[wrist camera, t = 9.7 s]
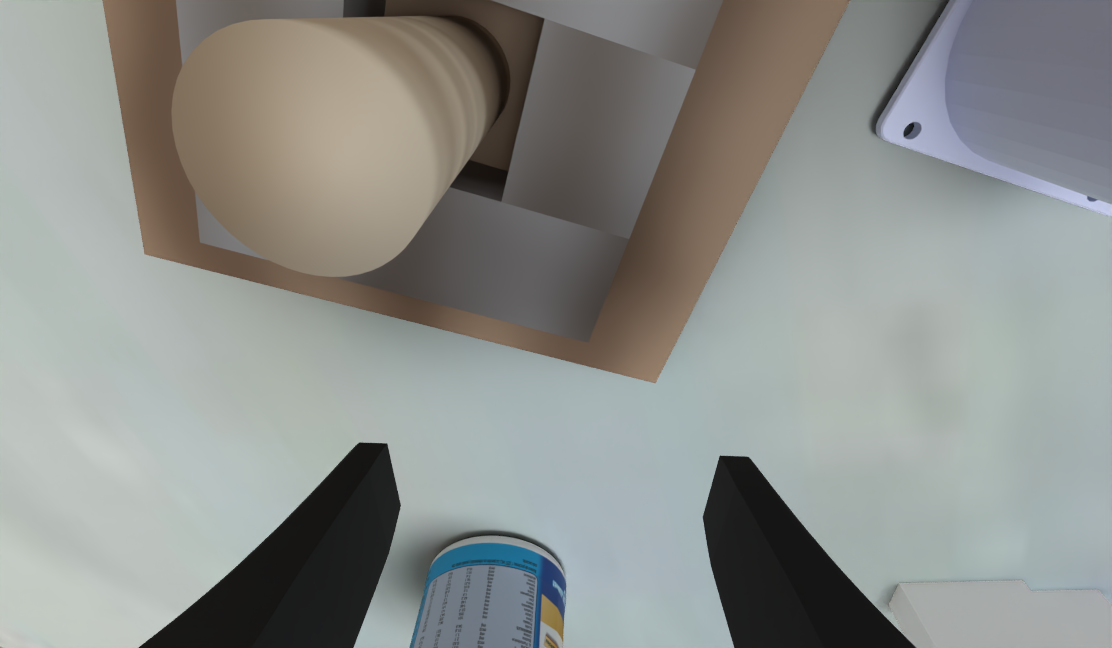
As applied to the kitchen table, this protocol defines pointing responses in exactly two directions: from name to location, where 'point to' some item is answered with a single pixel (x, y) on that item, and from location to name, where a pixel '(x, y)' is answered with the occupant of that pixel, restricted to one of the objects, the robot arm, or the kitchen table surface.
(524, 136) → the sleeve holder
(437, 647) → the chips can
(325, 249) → the peg
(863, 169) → the kitchen table surface
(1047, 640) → the napkin holder
